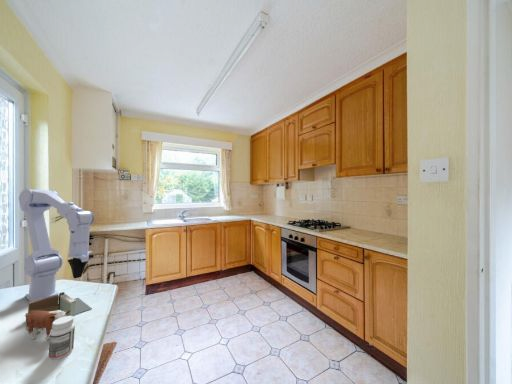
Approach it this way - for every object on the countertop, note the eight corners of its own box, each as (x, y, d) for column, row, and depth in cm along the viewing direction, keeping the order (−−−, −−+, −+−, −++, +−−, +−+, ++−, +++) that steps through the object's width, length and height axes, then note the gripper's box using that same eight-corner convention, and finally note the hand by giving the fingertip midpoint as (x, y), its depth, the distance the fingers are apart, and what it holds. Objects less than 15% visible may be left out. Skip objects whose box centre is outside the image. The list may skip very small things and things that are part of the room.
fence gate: (59, 310, 71) (60, 295, 72) (64, 308, 72) (65, 294, 73) (69, 317, 67) (70, 302, 67) (75, 315, 68) (76, 300, 68)
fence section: (27, 319, 66) (28, 301, 66) (62, 307, 73) (63, 291, 74) (28, 320, 65) (29, 302, 66) (64, 309, 73) (65, 292, 73)
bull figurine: (56, 346, 55) (58, 315, 55) (19, 339, 57) (21, 309, 58) (73, 336, 59) (75, 307, 59) (38, 329, 62) (40, 302, 62)
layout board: (25, 314, 69) (25, 313, 69) (78, 298, 81) (78, 297, 81) (35, 329, 62) (35, 327, 62) (91, 309, 73) (91, 308, 73)
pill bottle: (59, 346, 55) (61, 314, 55) (78, 345, 55) (80, 314, 55) (42, 360, 50) (44, 325, 50) (63, 359, 50) (65, 325, 51)
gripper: (99, 242, 79) (97, 278, 78) (85, 238, 87) (83, 270, 86) (75, 245, 73) (73, 284, 72) (63, 240, 81) (61, 275, 80)
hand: (77, 277), depth 79 cm, fingers closed
